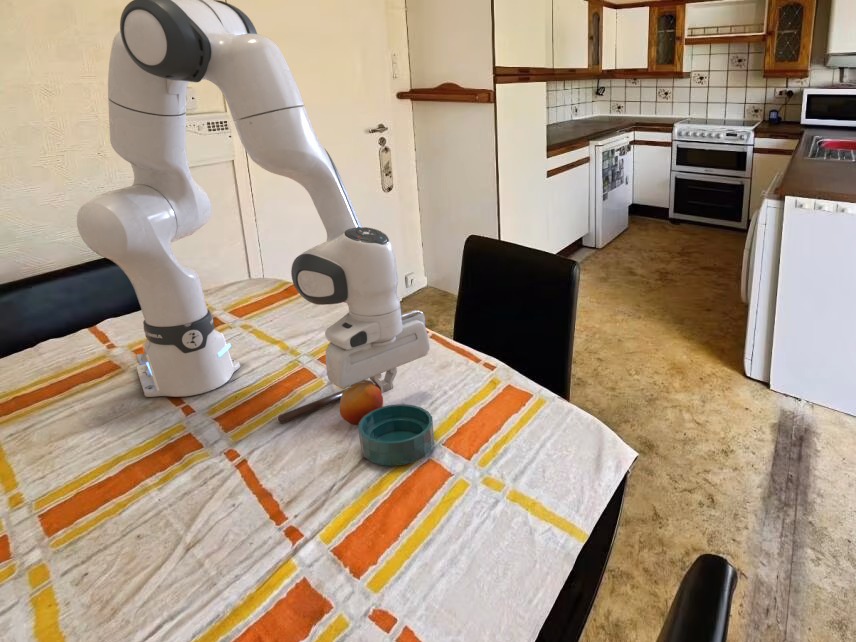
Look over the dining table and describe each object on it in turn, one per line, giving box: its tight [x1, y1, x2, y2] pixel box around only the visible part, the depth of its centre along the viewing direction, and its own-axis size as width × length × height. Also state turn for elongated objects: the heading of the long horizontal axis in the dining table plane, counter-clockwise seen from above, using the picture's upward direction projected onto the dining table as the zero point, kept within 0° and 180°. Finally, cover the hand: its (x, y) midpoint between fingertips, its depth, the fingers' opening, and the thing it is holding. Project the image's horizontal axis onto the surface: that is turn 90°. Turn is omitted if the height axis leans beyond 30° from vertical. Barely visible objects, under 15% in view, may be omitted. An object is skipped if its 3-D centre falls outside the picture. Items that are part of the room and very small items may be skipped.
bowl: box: [357, 403, 435, 467], centre depth 105 cm, size 12×12×5 cm
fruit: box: [338, 382, 384, 426], centre depth 113 cm, size 8×8×8 cm
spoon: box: [277, 379, 374, 424], centre depth 119 cm, size 4×20×2 cm, turn 135°
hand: (384, 390), depth 116 cm, fingers closed
